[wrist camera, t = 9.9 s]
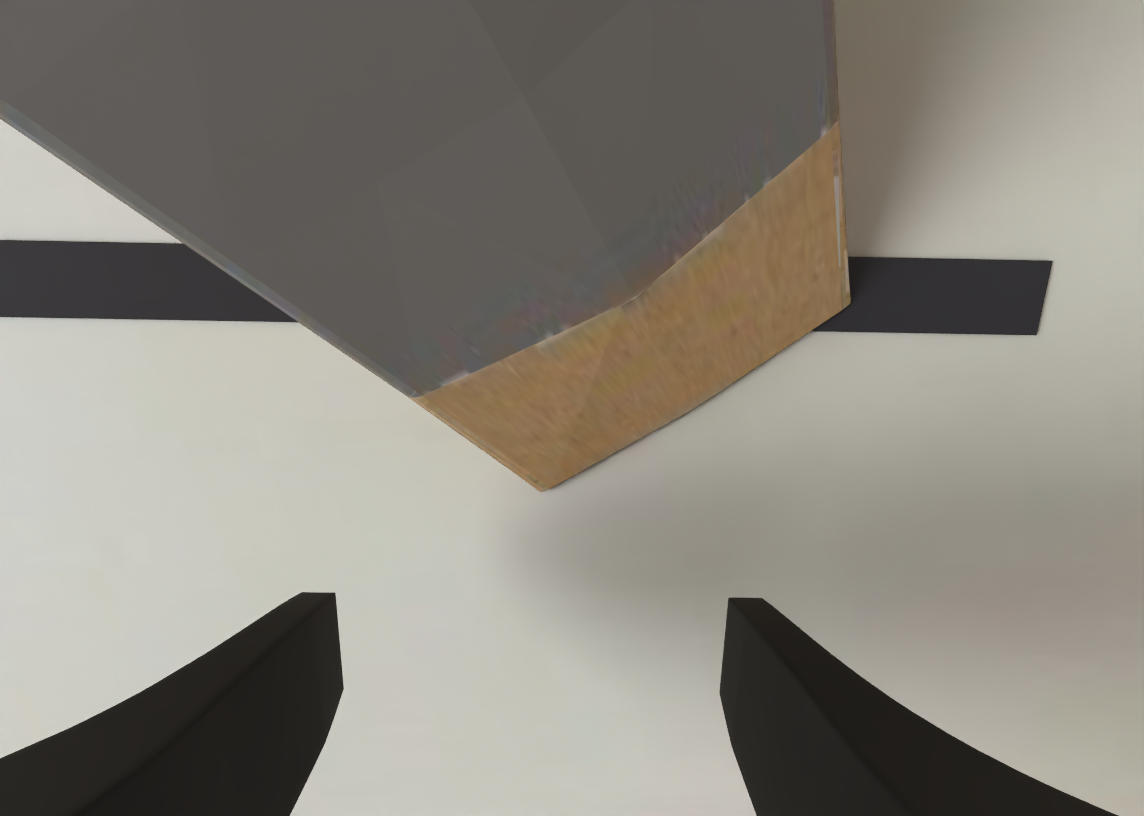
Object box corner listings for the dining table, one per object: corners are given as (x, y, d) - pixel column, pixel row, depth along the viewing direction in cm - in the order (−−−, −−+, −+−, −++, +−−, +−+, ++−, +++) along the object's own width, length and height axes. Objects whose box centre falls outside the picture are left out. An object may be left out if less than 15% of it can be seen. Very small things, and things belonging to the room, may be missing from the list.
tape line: (1033, 334, 14) (1036, 335, 14) (-63, 315, 14) (-67, 315, 14) (1049, 260, 14) (1053, 261, 14) (-81, 238, 14) (-86, 238, 13)
